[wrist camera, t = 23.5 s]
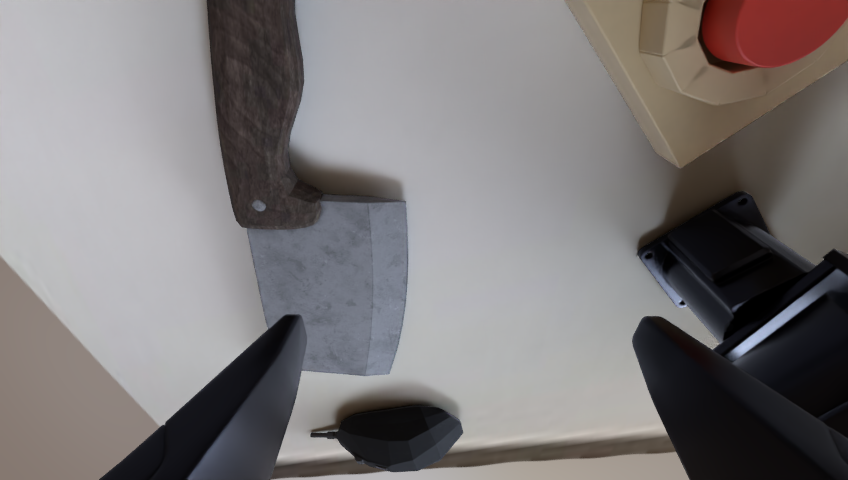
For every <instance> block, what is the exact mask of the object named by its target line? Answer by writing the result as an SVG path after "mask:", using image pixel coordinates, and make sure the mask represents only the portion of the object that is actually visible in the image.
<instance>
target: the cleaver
mask: <svg viewBox="0 0 848 480" xmlns="http://www.w3.org/2000/svg"><path fill="white" fill-rule="evenodd" d="M207 10H208V25H209V39H210V52H211V64H212V75H213V86H214V95H215V105H216V114H217V123H218V131H219V139H220V146H221V152H222V158H223V164H224V170H225V175H226V180H227V185H228V190H229V195H230V199H231V204H232V208H233V212H234V215H235V218H236V221H237V222H238V223H239V225H240V226H241V227H244V228H247V233H248V237H249V242H250V247H251V252H252V257H253V262H254V267H255V272H256V276H257V281H258V286H259V291H260V296H261V301H262V305H263V310H264V315H265V320H266V323H267V327H268V329H269V328H270V327H271V326H272V325H273V324H275V323H276V322H277V321H278V320H279V319H280V318H281V317H282V316H284V315H286V314H299V315H301V316H302V318H303V322H304V326H305V329H306V333H307V346H306V351H305V356H304V361H303V366H302V371H313V372H325V373H337V374H349V375H361V376H370V375H383V374H390V370H391V367H392V364H393V361H394V358H395V354H396V351H397V347H398V344H399V339H400V334H401V330H402V325H403V318H404V311H405V304H406V292H407V277H408V236H407V215H406V201H400V200H393V199H385V198H377V197H370V196H350V195H329V194H323V193H322V191H320V190H318V189H316V188H314V187H313V186H311V185H309V184H307V183H305V182H303V181H301V180H299V179H298V178H297V176H296V175H295V173H294V171H293V170H292V168H291V166H290V160H289V152H288V147H289V141H290V134H291V130H292V127H293V124H294V121H295V118H296V114H297V111H298V108H299V105H300V102H301V97H302V91H303V85H304V71H303V58H302V53H301V47H300V41H299V36H298V30H297V24H296V18H295V0H207Z"/></svg>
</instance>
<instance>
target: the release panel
mask: <svg viewBox="0 0 848 480" xmlns="http://www.w3.org/2000/svg"><path fill="white" fill-rule="evenodd" d="M565 2H566V3H567V5H568V7H569V8H570V10H571V12H572V13H573V15H574V17H575V18H576V20H577V22H578V23H579V25H580V27H581V28H582V30H583V32H584V33H585V35H586V37H587V38H588V40H589V42H590V43H591V45H592V47H593V48H594V50H595V52H596V53H597V55H598V57H599V58H600V60H601V62H602V63H603V65H604V67H605V68H606V70H607V72H608V73H609V75H610V77H611V78H612V80H613V82H614V83H615V85H616V87H617V88H618V90H619V92H620V94H621V95H622V97H623V99H624V100H625V102H626V104H627V105H628V107H629V109H630V110H631V112H632V114H633V115H634V117H635V119H636V120H637V122H638V124H639V125H640V127H641V129H642V130H643V132H644V134H645V135H646V137H647V139H648V140H649V142H650V144H651V145H652V147H653V149H654V150H655V152H656V153H657V154H658V155H660V156H661V157H663V158H665V159H666V160H668V161H669V162H671V163H672V164H674V165H675V166H677V167H679V168H682V167H684V166H685V165H687V164H688V163H690V162H692V161H693V160H695V159H696V158H698V157H699V156H701V155H702V154H704V153H705V152H707V151H709V150H710V149H712V148H713V147H715V146H716V145H718V144H719V143H721V142H722V141H724V140H726V139H727V138H729V137H730V136H732V135H733V134H735V133H736V132H738V131H739V130H741V129H743V128H744V127H746V126H747V125H749V124H750V123H752V122H753V121H755V120H756V119H758V118H760V117H761V116H763V115H764V114H766V113H767V112H769V111H770V110H772V109H773V108H775V107H777V106H778V105H780V104H781V103H783V102H784V101H786V100H787V99H789V98H790V97H792V96H794V95H795V94H797V93H798V92H800V91H801V90H803V89H804V88H806V87H807V86H809V85H811V84H812V83H814V82H815V81H817V80H818V79H820V78H821V77H823V76H824V75H826V74H828V73H829V72H831V71H832V70H834V69H835V68H837V67H838V66H840V65H841V64H843V63H845V62H846V61H848V18H847V20H846V21H845V22H844V24H843V25H842V26H841V27H840V28H839V29H838V31H837V32H836V33H835V34H834V35H833V36H832V37H831V38H830V39H829V40H827V41H826V42H825V43H824V44H823V45H822V46H820V47H819V48H817V49H816V50H815V51H813V52H812V53H810V54H809V55H807V56H805V57H803V58H801V59H800V60H798V61H795V62H793V63H790V64H787V65H784V66H780V67H775V68H760V67H754V66H749V65H744V64H739V63H733V62H728V61H724V60H721V59H719V58H717V57H715V56H714V55H712V54H711V52H710V51H709V50H708V49H707V47H706V45H705V43H704V40H703V35H702V21H703V15H704V11H705V8H706V5H707V2H708V0H565Z"/></svg>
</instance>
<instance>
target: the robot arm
mask: <svg viewBox="0 0 848 480" xmlns="http://www.w3.org/2000/svg"><path fill="white" fill-rule="evenodd" d="M741 199H742V200H741ZM740 200H741V201H740ZM739 201H740V202H739ZM647 253H649V254H648V255H646V254H647ZM638 256H639V258H640V259H641V260H642V262H643V263H644V264H645V266H646V267H647V268H648V270H649V271H650V272H651V274H652V275H653V276H654V278H655V279H656V280H657V282H658V283H659V284H660V286H661V287H662V288H663V290H664V291H665V292H666V294H667V295H668V296H669V298H670V299H671V300H672V301H673V303H674V304H675V305H676V306H677V307H679V308H682V307H686V306H688V307H689V308H690V309H691V311H692V312H693V313H694V314H695V315H696V316H697V317H698V319H699V320H700V321H701V322H702V323H703V324H704V325H705V327H706V328H707V329H708V330H709V331H710V332H711V333H712V335H713V336H714V337H715V338H716V339H717V340H718V341H719V343H720V344H719V345H718V346H716V347H715V348H714V349H713V350H712V349H710V348H709V347H707V346H706V345H704V344H703V343H701V342H699V341H698V340H696V339H695V338H693V337H692V336H690V335H689V334H687V333H686V332H684V331H683V330H681V329H680V328H678V327H677V326H675V325H673V324H672V323H670V322H669V321H667V320H666V319H664V318H663V317H659V316H646V317H644V318H642V319H641V321H640V323H639V325H638V327H637V329H636V331H635V333H634V335H633V339H632V343H633V348H634V350H635V353H636V356H637V359H638V362H639V365H640V367H641V370H642V373H643V376H644V379H645V382H646V384H647V387H648V390H649V393H650V395H651V398H652V400H653V403H654V405H655V407H656V410H657V412H658V414H659V416H660V418H661V420H662V422H663V424H664V427H665V429H666V431H667V433H668V435H669V437H670V439H671V441H672V444H673V446H674V448H675V450H676V452H677V454H678V456H679V458H680V460H681V463H682V465H683V467H684V469H685V471H686V473H687V475H688V477H689V479H690V480H848V254H846V253H844V252H841V251H839V250H836V249H832V250H831V251H830V252H829V253H828V254H826V255H825V256H824V257H823V259H824V260H823V261H822V262H820V263H819V264H818V265H817V266H816V265H814V264H813V263H811V262H810V261H808V260H807V259H805V258H804V257H802V256H801V255H799V254H798V253H796V252H795V251H793V250H792V249H790V248H789V247H787V246H786V245H784V244H783V243H781V242H780V241H778V240H777V239H775V238H774V237H772V236H771V235H770V233H769V231H768V229H767V226H766V224H765V222H764V220H763V218H762V216H761V214H760V212H759V210H758V208H757V206H756V203H755V201H754V199H753V197H752V196H751V195H750V194H748V193H746V192H744V191H740V192H737V193H735V194H733V195H731V196H729V197H728V198H726V199H724V200H723V201H721V202H719V203H717V204H716V205H714V206H712V207H711V208H709V209H707V210H706V211H704V212H702V213H700V214H699V215H697V216H695V217H694V218H692V219H690V220H688V221H687V222H685V223H683V224H682V225H680V226H678V227H677V228H675V229H673V230H671V231H670V232H668V233H666V234H665V235H663V236H661V237H659V238H658V239H656V240H654V241H653V242H651V243H649V244H648V245H646V246H644V247H642V248H641V249H640V250H639V252H638ZM306 346H307V333H306V329H305V326H304V322H303V318H302V316H301V315H299V314H286V315H284V316H282V317H281V318H280V319H279V320H278V321H277V322H276V323H275V324H273V325H272V326H271V327H270V328H269V329H268V330H267V331H266V332H265V333H264V334H262V335H261V336H260V337H259V338H258V339H257V340H256V341H255V342H254V343H252V344H251V345H250V346H249V347H248V348H247V349H246V350H245V351H244V352H243V353H241V354H240V355H239V356H238V357H237V358H236V359H235V360H234V361H233V362H232V363H230V364H229V365H228V366H227V367H226V368H225V369H224V370H223V371H222V372H220V373H219V374H218V375H217V376H216V377H215V378H214V379H213V380H212V381H211V382H209V383H208V384H207V385H206V386H205V387H204V388H203V389H202V390H201V391H199V392H198V393H197V394H196V395H195V396H194V397H193V398H192V399H191V400H190V401H188V402H187V403H186V404H185V405H184V406H183V407H182V408H181V409H180V410H178V411H177V412H176V413H175V414H174V415H173V416H172V417H171V418H170V419H169V420H167V421H166V423H165V425H162V426H161V427H160V428H158V430H156V431H155V432H154V433H153V434H152V435H151V436H150V437H148V438H147V439H146V440H145V441H144V442H143V443H142V444H141V445H139V446H138V447H137V448H136V449H135V450H134V451H133V452H131V453H130V454H129V455H128V456H127V457H126V458H125V459H123V461H121V462H120V463H119V464H117V465H116V466H115V467H114V468H113V469H111V470H110V471H109V472H108V473H107V474H105V475H104V476H103V477H102V478H100V479H99V480H270V478H271V475H272V472H273V469H274V466H275V463H276V460H277V456H278V453H279V450H280V447H281V444H282V441H283V438H284V435H285V432H286V428H287V425H288V422H289V419H290V416H291V413H292V410H293V406H294V403H295V399H296V395H297V391H298V386H299V381H300V376H301V371H302V366H303V361H304V356H305V351H306Z"/></svg>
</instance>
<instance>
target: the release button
mask: <svg viewBox="0 0 848 480" xmlns="http://www.w3.org/2000/svg"><path fill="white" fill-rule="evenodd" d="M847 18H848V0H708V2H707V5H706V8H705V11H704V15H703V21H702V35H703V40H704V43H705V45H706V47H707V49H708V50H709V51H710V52H711V54H712V55H714V56H715V57H717V58H719V59H721V60H724V61H728V62H733V63H739V64H744V65H749V66H754V67H760V68H775V67H780V66H784V65H787V64H790V63H793V62H795V61H798V60H800V59H801V58H803V57H805V56H807V55H809V54H810V53H812V52H813V51H815V50H816V49H817V48H819V47H820V46H822V45H823V44H824V43H825V42H826V41H827V40H829V39H830V38H831V37H832V36H833V35H834V34H835V33H836V32H837V31H838V29H839V28H840V27H841V26H842V25H843V24H844V22H845V21H846V20H847Z"/></svg>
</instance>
